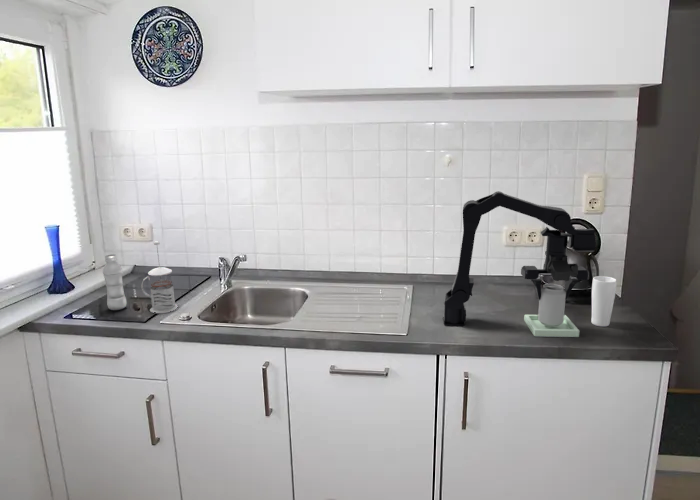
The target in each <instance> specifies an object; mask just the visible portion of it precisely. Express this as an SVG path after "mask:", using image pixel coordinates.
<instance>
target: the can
mask: <svg viewBox="0 0 700 500" xmlns="http://www.w3.org/2000/svg"><path fill="white" fill-rule="evenodd" d="M564 289H565V286H562V285H560V284H558V283H545V284H543V285H542V288H541V298H540V300H539V299H538V313H537V315H538V320H539V321H540V322H541V323H542V324H543V325H546V326H559V325H560V324H562V323H563V320H564V315H565V309H566V308H565V306H566V300H565V298H566V292H565V291H564Z"/></svg>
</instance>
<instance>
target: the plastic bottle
mask: <svg viewBox="0 0 700 500" xmlns="http://www.w3.org/2000/svg"><path fill="white" fill-rule="evenodd" d="M104 259H105V260H104V262H106V263H105V265H104V266H103V268H102V275H103V277H104V278H103V279H104V281H105V285H106V293H107V295H106V297H107V298H106V304H107V307H108V309H109V310H111V311H119V310H120V311H121V310H123V309H125V308H126V306H127V297H126V296H125V292H124V291H125V290H124V286H123V285H124V284H123V268H122V266H121V265H120V264H119V262H117V261H118V259H117V255H116V254H114V253H113V254H107V255H104Z"/></svg>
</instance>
